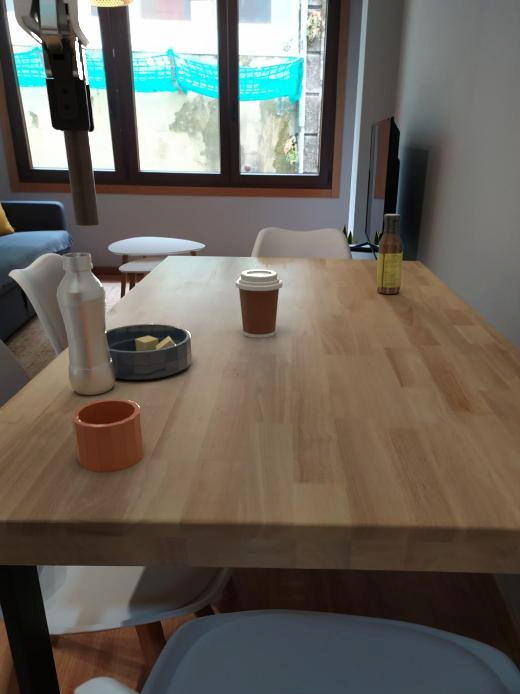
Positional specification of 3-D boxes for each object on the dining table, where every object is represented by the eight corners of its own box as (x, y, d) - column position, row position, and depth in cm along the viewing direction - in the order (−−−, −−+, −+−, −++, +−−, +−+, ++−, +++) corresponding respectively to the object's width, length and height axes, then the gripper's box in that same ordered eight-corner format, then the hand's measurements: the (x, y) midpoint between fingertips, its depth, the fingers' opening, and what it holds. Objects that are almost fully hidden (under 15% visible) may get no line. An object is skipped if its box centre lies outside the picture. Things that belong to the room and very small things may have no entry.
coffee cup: (249, 342, 103) (248, 279, 98) (228, 329, 110) (227, 270, 106) (290, 335, 107) (291, 275, 103) (268, 324, 115) (268, 267, 110)
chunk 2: (170, 340, 89) (168, 335, 91) (156, 350, 89) (155, 345, 91) (180, 352, 90) (179, 348, 93) (167, 363, 90) (166, 358, 92)
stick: (73, 225, 52) (51, 57, 47) (77, 223, 54) (56, 61, 49) (97, 225, 52) (78, 59, 47) (100, 223, 54) (82, 62, 49)
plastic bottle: (124, 384, 83) (110, 251, 75) (104, 402, 77) (86, 260, 69) (85, 381, 84) (67, 249, 76) (62, 399, 78) (39, 258, 70)
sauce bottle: (404, 292, 144) (412, 214, 137) (391, 296, 140) (398, 216, 132) (383, 288, 148) (390, 212, 141) (370, 292, 144) (376, 214, 136)
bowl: (92, 385, 82) (88, 354, 81) (103, 352, 96) (100, 325, 94) (193, 379, 85) (191, 349, 83) (190, 348, 99) (188, 322, 97)
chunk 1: (134, 338, 93) (148, 335, 95) (136, 354, 94) (149, 350, 96) (144, 342, 91) (158, 338, 93) (146, 358, 92) (159, 354, 94)
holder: (74, 478, 59) (66, 429, 57) (84, 446, 65) (77, 400, 63) (142, 472, 60) (138, 424, 58) (145, 441, 67) (141, 396, 64)
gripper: (17, -89, 49) (48, 133, 57) (-46, -191, 35) (7, 125, 42) (103, -81, 51) (123, 135, 58) (76, -175, 36) (107, 128, 43)
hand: (74, 129), depth 50 cm, fingers closed on stick, 2 cm apart
